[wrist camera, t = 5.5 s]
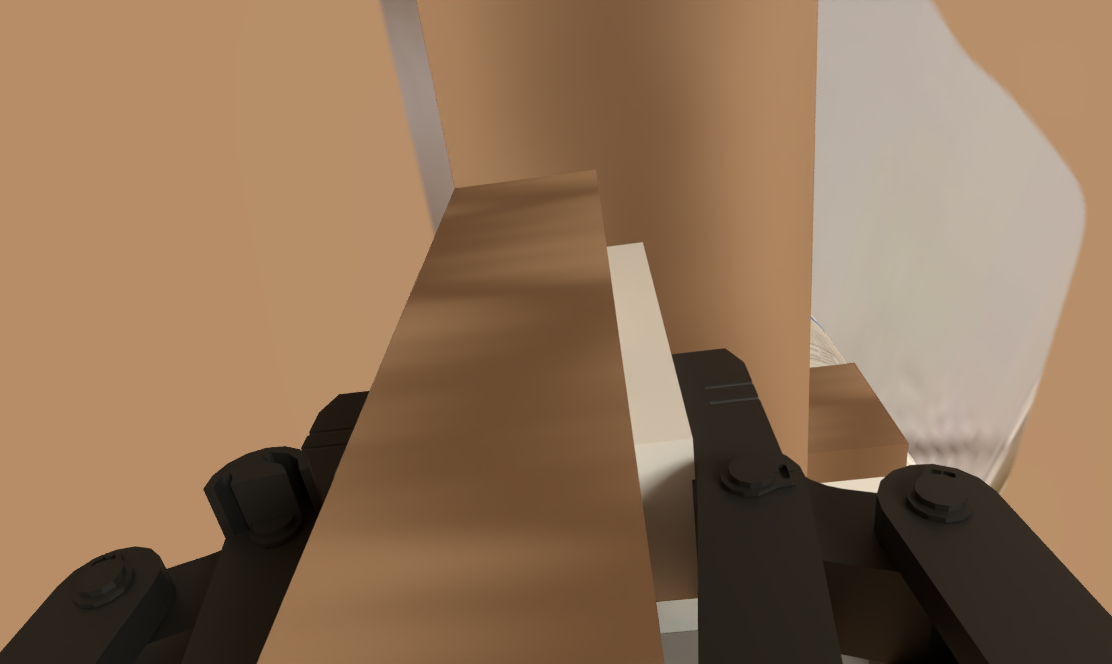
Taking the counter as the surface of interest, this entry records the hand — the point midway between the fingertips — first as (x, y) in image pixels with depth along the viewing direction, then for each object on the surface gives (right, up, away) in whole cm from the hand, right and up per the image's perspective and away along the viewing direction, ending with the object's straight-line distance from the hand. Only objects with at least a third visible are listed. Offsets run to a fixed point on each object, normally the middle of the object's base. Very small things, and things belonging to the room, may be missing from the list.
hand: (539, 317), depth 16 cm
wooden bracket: (+4, +3, +5) cm, 7 cm away
